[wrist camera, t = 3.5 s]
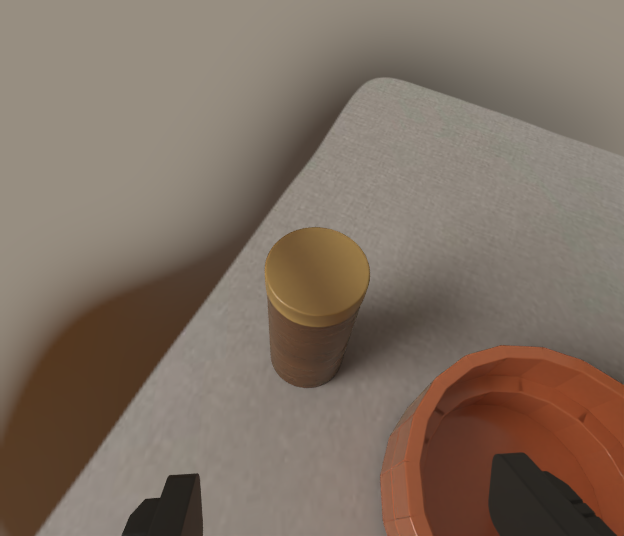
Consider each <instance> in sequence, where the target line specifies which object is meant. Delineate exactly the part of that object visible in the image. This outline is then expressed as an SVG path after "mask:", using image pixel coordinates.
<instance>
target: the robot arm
mask: <svg viewBox="0 0 624 536" xmlns="http://www.w3.org/2000/svg"><path fill="white" fill-rule="evenodd" d="M488 507H489V513H490V517H491V520H492V523H493V525H494V527H495V529H496V530H497V532H498V533H499V535H500V536H617V535H616V534H615V533H614V532H613V531H612V530H611V529H610V528H609V527H608V526H607V525H606V524H605V523H604V521H603V520H602V519H601V518H600V517H597V516H596V514H595V512H594V511H593V510H592V509H591V508H590V507H589V506H588V505H587V504H586V503H583V500H582V499H581V498H580V497H579V496H578V494H577V493H576V492H575V491H574V490H573V489H572V488H571V487H570V486H569V485H568V484H567V483H565V482H563V481H562V480H560V479H559V478H557V477H556V476H554V475H553V474H551V473H549V472H548V471H542V470H541V469H540V468H539V467H538V466H537V465H536V464H535V463H534V462H533V461H532V460H531V459H530V457H529V456H528V455H527V454H525V453H523V452H518V453H502V454H495V455H494V457H493V459H492V468H491V478H490V488H489V498H488ZM122 536H203V518H202V503H201V488H200V477H199V474H198V473H197V474H181V475H169V476H168V478H167V480H166V483H165V486H164V489H163V492H162V495H161V497H160V498H151V499H145V500H144V501H143V502H142V503H141V504H140V505H139V506H138V508H137V509H136V510H135V511H134V512H133V513H132V514H131V515H130V517H129V519H128V521H127V524H126V526H125V528H124V531H123V533H122Z"/></svg>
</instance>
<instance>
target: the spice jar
mask: <svg viewBox="0 0 624 536" xmlns="http://www.w3.org/2000/svg"><path fill="white" fill-rule="evenodd" d="M369 281H370V267H369V263H368V260H367V258H366V256H365V254H364V252H363V251H362V249H361V248H360V247H359V246H358V245H357V244H356V243H355V242H354V241H353V240H352V239H350V238H349V237H347V236H346V235H344V234H342V233H340V232H338V231H335V230H331V229H327V228H320V227H311V228H303V229H299V230H296V231H293V232H291V233H289V234H287V235H285V236H284V237H282V238H281V239H280V240H279V241H278V242H277V243H276V244H275V245H274V246H273V247H272V249H271V250H270V252H269V254H268V256H267V259H266V263H265V283H266V290H267V299H268V317H269V335H270V352H271V361H272V364H273V367H274V369H275V370H276V372H277V373H278V375H279V376H280V377H281V378H282V379H284V380H285V381H286V382H288V383H290V384H292V385H294V386H297V387H303V388H311V387H317V386H320V385H322V384H324V383H326V382H328V381H329V380H330V379H331V378H332V377H333V376H334V375H335V374H336V373H337V371H338V369H339V367H340V365H341V362H342V359H343V356H344V353H345V350H346V347H347V344H348V341H349V338H350V335H351V332H352V329H353V326H354V323H355V320H356V317H357V314H358V311H359V308H360V305H361V304H362V302H363V299H364V297H365V294H366V291H367V288H368V285H369Z"/></svg>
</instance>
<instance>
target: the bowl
mask: <svg viewBox="0 0 624 536" xmlns="http://www.w3.org/2000/svg"><path fill="white" fill-rule="evenodd" d="M518 452H523V453H525V454H527V455H528V456H529V457H530V459H531V460H532V461H533V462H534V463H535V464H536V465H537V466H538V467H539V468H540V469H541V470H542V471H548V472H549V473H551V474H553V475H554V476H556V477H557V478H559V479H560V480H562V481H563V482H565V483H567V484H568V485H569V486H570V487H571V488H572V489H573V490H574V491H575V492H576V493H577V494H578V496H579V497H580V498H581V499H582V500H583V503H586V504H587V505H588V506H589V507H590V508H591V509H592V510H593V511H594V512H595V514H596V516H597V517H600V518H601V519H602V520H603V521H604V523H605V524H606V525H607V526H608V527H609V528H610V529H611V530H612V531H613V532H614V533H615V534H616V535H617V536H624V385H623V384H621V383H620V382H618V381H616V380H615V379H613V378H612V377H610V376H608V375H607V374H605V373H603V372H602V371H600V370H598V369H597V368H595V367H594V366H592V365H590V364H589V363H587V362H584V361H583V360H580V359H577V358H574V357H571V356H568V355H565V354H562V353H559V352H556V351H553V350H550V349H547V348H544V347H529V346H508V345H503V346H502V345H500V346H497V347H493V348H490V349H486V350H483V351H479V352H476V353H472V354H468V355H466V356H464V357H463V358H461V359H460V360H459V361H457V362H456V363H455V364H453V365H452V366H451V367H449V368H448V369H447V370H445V371H444V372H443V373H441V374H440V375H439V376H437V377H436V378H435V379H434V380H433V381H432V382H431V383H430V385H429V386H428V387H427V388H426V389H425V390H424V391H423V392H422V393H421V394H420V395H419V396H418V397H417V398H416V399H415V400H414V401H413V403H412V404H411V405H410V406H409V407H408V408H407V409H406V411H405V413H404V414H403V416H402V417H401V419H400V421H399V422H398V424H397V425H396V427H395V429H394V430H393V432H392V433H391V435H390V437H389V440H388V444H387V449H386V453H385V457H384V461H383V466H382V470H381V474H380V476H381V477H380V482H381V499H382V516H383V521H384V527H385V530H386V533H387V536H500V535H499V533H498V532H497V530H496V529H495V527H494V525H493V523H492V520H491V517H490V513H489V507H488V498H489V488H490V478H491V468H492V459H493V457H494V455H495V454H502V453H518Z"/></svg>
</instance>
